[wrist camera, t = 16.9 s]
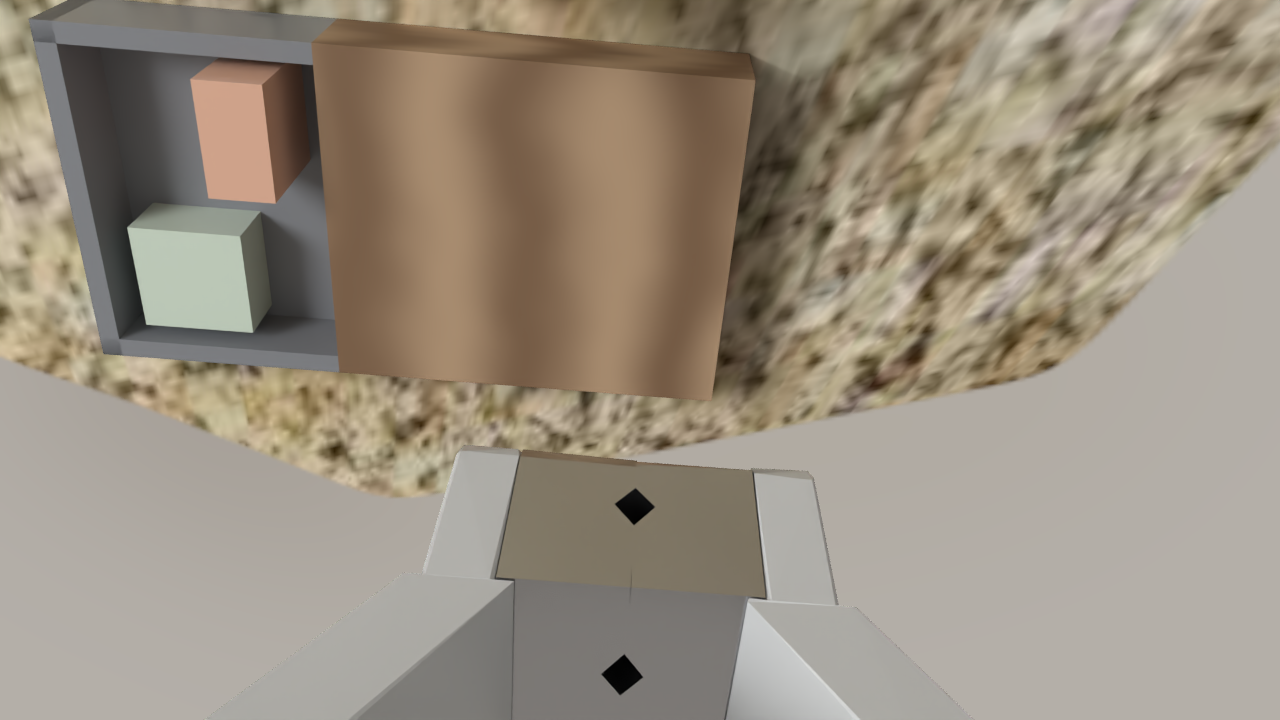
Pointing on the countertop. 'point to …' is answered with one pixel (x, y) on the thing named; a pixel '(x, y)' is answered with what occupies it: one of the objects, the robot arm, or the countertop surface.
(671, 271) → the board
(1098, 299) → the countertop surface
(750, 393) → the countertop surface
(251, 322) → the tile sage
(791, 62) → the countertop surface
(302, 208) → the tray
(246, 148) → the tile terracotta
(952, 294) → the countertop surface
